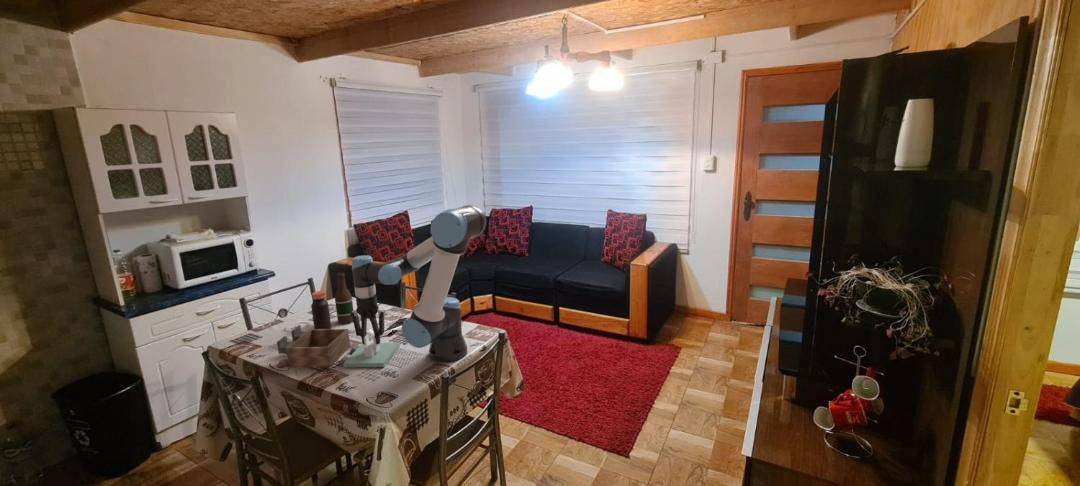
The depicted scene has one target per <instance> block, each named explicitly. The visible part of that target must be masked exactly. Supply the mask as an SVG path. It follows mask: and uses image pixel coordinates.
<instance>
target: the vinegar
mask: <svg viewBox="0 0 1080 486" xmlns="http://www.w3.org/2000/svg"><path fill="white" fill-rule="evenodd" d="M311 297H312V300H313V301H312V303H311V304H310V306H311V314H312V322H313V329H332V323H331V315H330V307H329V301H327V300H326V299H325V298H326V295H325V291H323V290H320V291H314V292H312V293H311Z"/></svg>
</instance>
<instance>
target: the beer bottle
mask: <svg viewBox="0 0 1080 486" xmlns="http://www.w3.org/2000/svg"><path fill="white" fill-rule="evenodd" d="M345 275H346V274H345V272H338V273H336V274H335V276H336V279H337V280H336V281H337V290H336V292H335V294H334V300H335V301H334V302H335V310H336V311H335V312H336V317H337V318H336V319H337V323H338V324H339V325H349V324H351V323H354V322H353V318H352V316H351V315H350V313H351V312H352V311H354V304H353V298H352V294H351V292H350V290H349V289H347V288H348V287H347V283H346V278H345Z"/></svg>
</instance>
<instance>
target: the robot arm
mask: <svg viewBox="0 0 1080 486" xmlns="http://www.w3.org/2000/svg"><path fill="white" fill-rule="evenodd" d="M486 226H487V218H486V215H485V213H484V212H483V210H482V209H481V208H479V207H478V206H475V205H468V204H467V205H463V206H459V207H457V208H456V207H455V208H453V209H452V208H451V209H446V210H444V211H442V212H440V213H438V214H437V215H435V217H434V218H433V219H432V221H431V224H430V235H431V237H429V238H428V239H425V240H424V241H423V242H421V243H419V244H418V245H417V246H415V247H414V248H412V249H411V250H409V251H408V252H406V253H405V254H403V255H402V256H399V257H397V258H394V259H392V260H389V261H385V262H381V263H380V262H374V260H373V257H372V256H371V255H357V256H355V257H353V258H352V259H351V270H352V278H353V286H354V293H355V295H354V296H355V304H356V309H353V311H352V312H351V313H350V315H351V316H352V318H353V322H352V323H353V326H354V331H355V332H354V333H355V335H356V336H357V337H361V344H365V346H366V345H367V344H368V343H369V341H370V340H369V336H368V335H366V334H367V333H366V331H367V330H368V327H367V326H368V325H367V323H368V322H367V321H368V320H369V322H370V323H371V327H372V328H373V331H374V332H373V333H374V335H375V336H374V337H373V341H374V350H375V353H377V352H378V351H379V343H381V337H380V336H381V335H382V334H383V333H384V332H385V328H384V323H385V315H386V310H385V309H383V310H382V309H380V308H379V306H378V298H377V295H376V293H377V290H376V289H377V287H376V284H382V285H387V286H389V285H392V286H393V285H396V284H398V283H399V281H400V280H401V279H402V278H403V277H406V276H408V275H410V274H412V273H413V274H414V273H415V272H418V270H420V269H421V267H423V266H424V265H426V264H427V263H429V262H430V261H431V262H430V266H429V269H428V273H427V276H426V279H425V283H424V285H423V289H422V293H421V297H420V299H419V302H418V303H417V302H416V303H415V305H414V306H413V307H412V308H413V309H412V312H411V314H410V316H409V317H410V318H408V319H406V321H404V322H403V323H402V325H401V326H402V330H401V333H402V336H403V337H404V340H406V342H407V343H408V344H409V346H410V345H411V346H412V347H414V348H416V349H417V348H418V349H421V348H425V347H427V346H429V349H428V355H429V356H428V357H429V359H431V360H432V361H434V362H435V361H436V362H438V363H439V362H442V363H446V362H454V361H458V360H460V359H462V358H464V357H465V356H467V354H468V346H467V345H468V344H467V343H466V340H465V338H464V335H463V330H462V313H461V309H462V307H461V302H460V300H459V299H457V298H455V297H452V296H451V297H450V296H448V293H449V292H450V291H449V290H450V287H451V283H452V281H453V277H454V275H455V271H456V269H457V266H458V263H459V260H460V257H461V256H462V255H464V254H465V253H466V252H467V248H468V246H469V243H470V241H471V240H472V239H474V238H477V237H479V236H480V235H481V234H482V233H484V231H485V229H486ZM377 314H378V316H379V317H378V321H377ZM359 316H360V317H359ZM360 321H361V323H360ZM378 326H379V327H378ZM372 328H371V329H372Z"/></svg>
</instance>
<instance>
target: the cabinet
mask: <svg viewBox="0 0 1080 486" xmlns="http://www.w3.org/2000/svg"><path fill="white" fill-rule="evenodd" d="M291 337H292V341H288V336H287V335H285V336H283V337H281V338H280V339H278V340H277V341H276V344H277V345H276V346H277V350H278V355H286V356H287V362H288V368H290V367H293V368H294V367H296V368H297V369H298V368H299V367H300V368H303V369H304V368H310V369H311V368H318V369H319V368H321V369H322V368H331V367H332V366H333V365H334V364H335V363H336V362H338V360H339V359H340V358H342V356H343V355H344V354H345V353H346V352H347V351H348V350H350V349H351V342H350V341H351V340H350V332H349V328H331V329H314V328H310V329H309V330H308V331H302V328H301V326H300V325H299V326H296V327H295V328H293V329H292V330H291ZM293 368H292V369H293ZM290 369H291V368H290Z"/></svg>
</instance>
